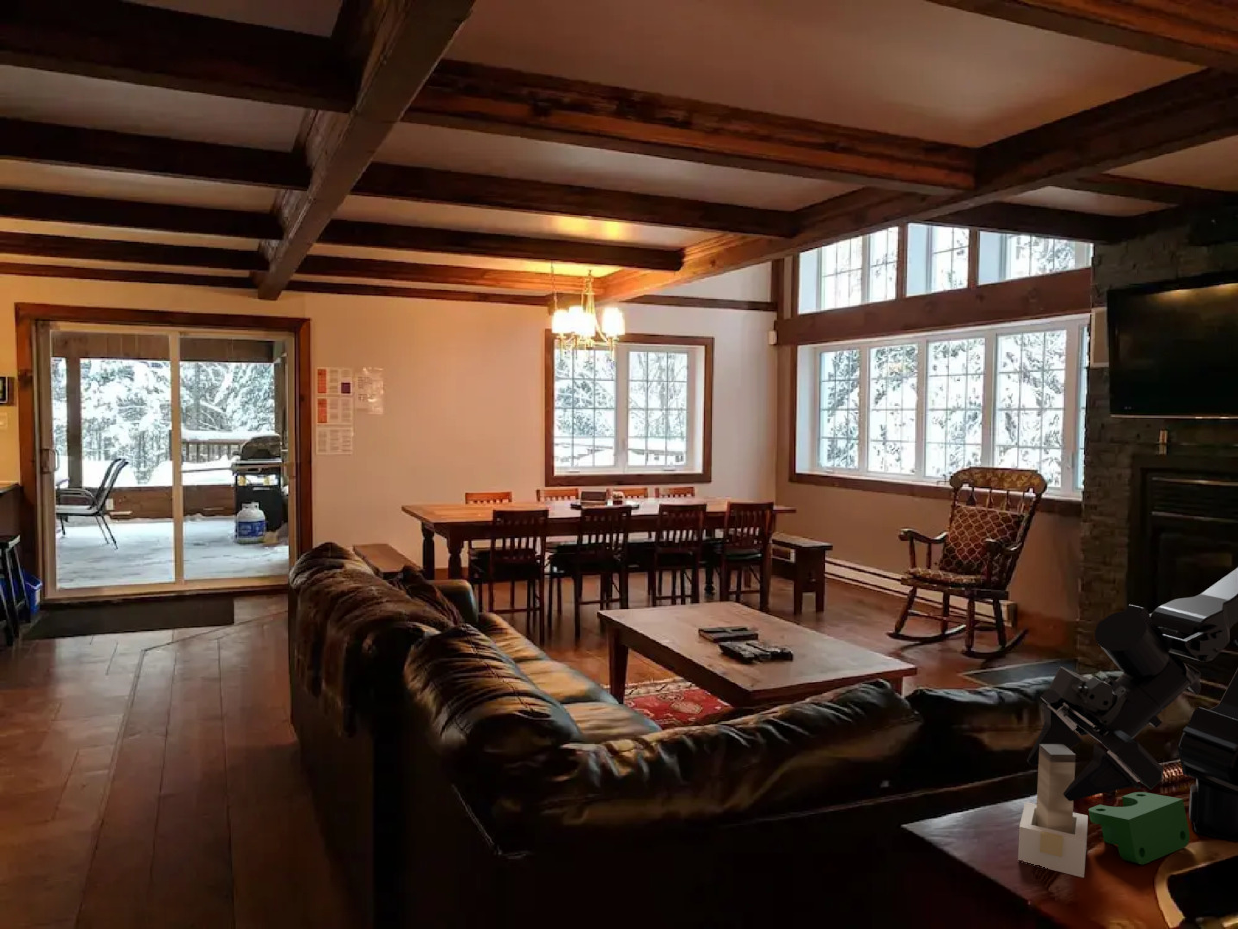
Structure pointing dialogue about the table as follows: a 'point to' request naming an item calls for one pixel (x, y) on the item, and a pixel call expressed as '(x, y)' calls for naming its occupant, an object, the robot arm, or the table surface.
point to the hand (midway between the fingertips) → (1047, 780)
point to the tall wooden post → (1055, 787)
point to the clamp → (1144, 826)
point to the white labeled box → (1053, 843)
